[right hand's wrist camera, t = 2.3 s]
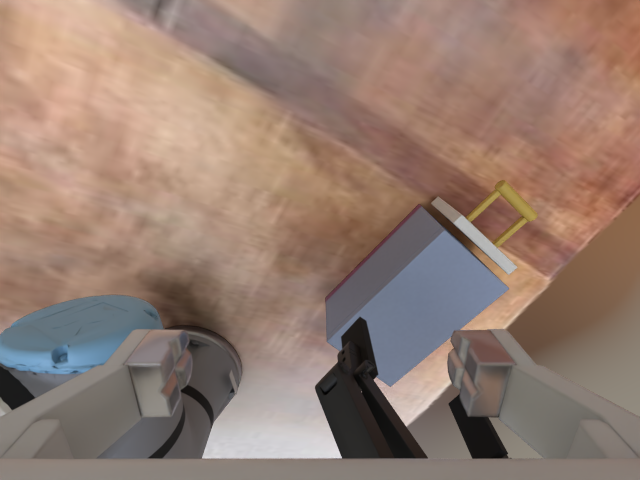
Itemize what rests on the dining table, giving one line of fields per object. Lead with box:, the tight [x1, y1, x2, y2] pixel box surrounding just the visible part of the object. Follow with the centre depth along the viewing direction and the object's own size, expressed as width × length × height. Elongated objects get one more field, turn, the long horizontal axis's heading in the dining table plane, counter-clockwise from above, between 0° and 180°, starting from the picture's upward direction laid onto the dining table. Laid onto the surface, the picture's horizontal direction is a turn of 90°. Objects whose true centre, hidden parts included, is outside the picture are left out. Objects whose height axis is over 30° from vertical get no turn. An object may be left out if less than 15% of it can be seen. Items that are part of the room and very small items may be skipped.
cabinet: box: [325, 204, 509, 387], centre depth 42 cm, size 18×10×10 cm, turn 139°
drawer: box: [431, 180, 538, 274], centre depth 41 cm, size 22×9×8 cm, turn 139°
